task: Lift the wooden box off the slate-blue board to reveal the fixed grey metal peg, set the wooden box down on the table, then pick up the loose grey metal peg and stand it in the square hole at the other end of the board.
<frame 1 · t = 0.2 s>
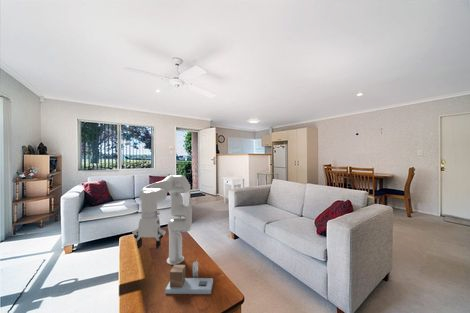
hand: (148, 247, 95), 31 cm above the table, fingers open, 9 cm apart
peg: (195, 278, 118), on the table
board: (190, 287, 109), on the table
wooden box: (177, 283, 109), point 2 cm above the table, touching board
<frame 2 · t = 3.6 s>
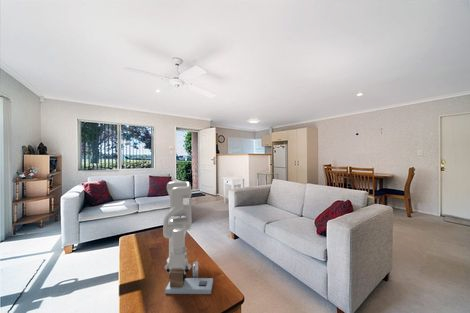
hand: (177, 279, 109), 5 cm above the table, fingers closed on wooden box, 7 cm apart
wooden box: (177, 283, 109), point 3 cm above the table, touching board, gripper
everything else where it was.
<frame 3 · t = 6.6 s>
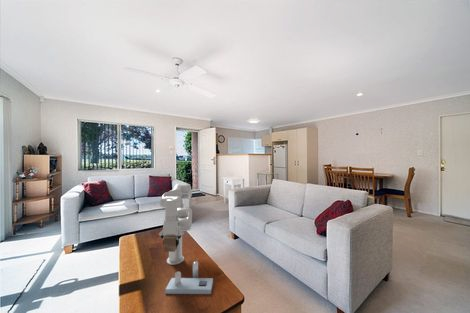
hand: (171, 245, 118), 21 cm above the table, fingers closed on wooden box, 7 cm apart
wooden box: (171, 248, 118), point 19 cm above the table, touching gripper
everything else where it was.
when the fingers open (3 cm above the table, at t = 9.6 s): wooden box drops 1 cm, on the table.
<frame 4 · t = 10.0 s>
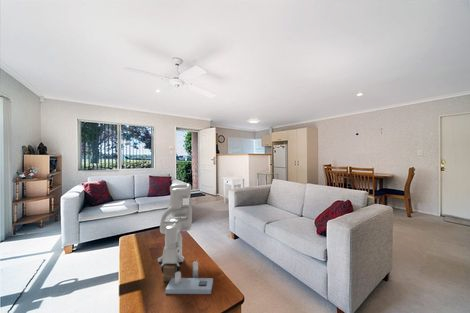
hand: (170, 271, 118), 4 cm above the table, fingers open, 9 cm apart
wooden box: (170, 277, 118), on the table
everything else where it was.
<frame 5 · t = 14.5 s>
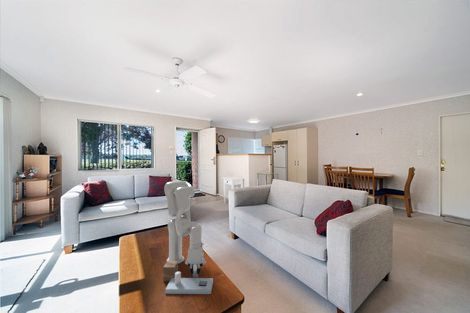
hand: (195, 273, 118), 3 cm above the table, fingers closed on peg, 3 cm apart
peg: (195, 278, 118), on the table, touching gripper
everything else where it was.
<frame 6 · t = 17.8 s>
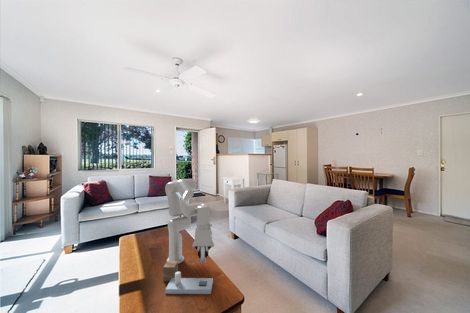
hand: (203, 256, 109), 18 cm above the table, fingers closed on peg, 3 cm apart
peg: (203, 261, 109), point 15 cm above the table, touching gripper
everything else where it was.
when the fingers open (4 cm above the table, at t = 21.2 s): peg stays where it is, resting in board.
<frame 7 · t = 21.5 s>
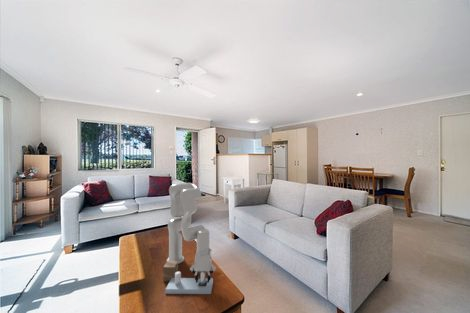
hand: (202, 281, 109), 4 cm above the table, fingers open, 6 cm apart
peg: (202, 287, 109), resting in board
everything else where it was.
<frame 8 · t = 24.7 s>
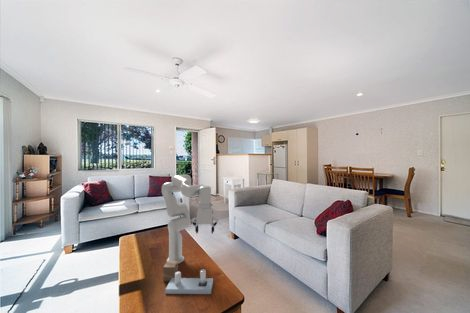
hand: (204, 232, 116), 30 cm above the table, fingers open, 9 cm apart
nothing on the table moved.
at the end: peg 0.0 cm from the target spot on the board, point 0.0 cm above the board's base; peg tilted 0°; wooden box moved 12.0 cm from its start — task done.
